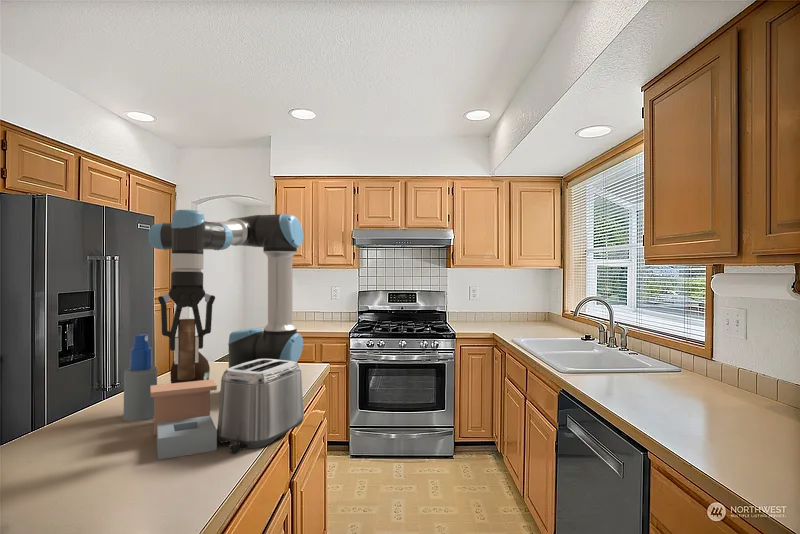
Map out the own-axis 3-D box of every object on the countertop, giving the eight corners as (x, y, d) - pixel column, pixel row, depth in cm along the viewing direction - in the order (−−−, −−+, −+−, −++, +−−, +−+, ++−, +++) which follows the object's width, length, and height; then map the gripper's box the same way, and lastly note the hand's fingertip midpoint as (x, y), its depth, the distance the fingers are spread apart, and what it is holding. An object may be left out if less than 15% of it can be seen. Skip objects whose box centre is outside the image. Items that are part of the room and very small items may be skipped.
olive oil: (167, 429, 132) (168, 340, 132) (172, 417, 142) (172, 335, 142) (208, 425, 135) (209, 338, 136) (209, 414, 145) (210, 333, 146)
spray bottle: (163, 412, 147) (164, 332, 147) (142, 421, 138) (143, 337, 138) (138, 410, 148) (139, 332, 149) (116, 419, 140) (117, 335, 140)
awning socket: (212, 424, 136) (212, 379, 136) (222, 449, 118) (223, 396, 118) (150, 433, 128) (150, 385, 128) (150, 461, 110) (151, 404, 110)
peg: (193, 375, 122) (194, 318, 122) (195, 379, 119) (196, 319, 119) (176, 377, 120) (177, 319, 120) (177, 380, 117) (178, 320, 117)
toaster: (314, 421, 140) (314, 357, 140) (251, 459, 112) (252, 379, 112) (266, 415, 145) (266, 353, 145) (195, 449, 117) (196, 373, 117)
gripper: (220, 270, 127) (219, 357, 127) (149, 270, 119) (148, 362, 119) (224, 271, 120) (223, 362, 120) (149, 270, 112) (148, 368, 112)
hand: (186, 362), depth 119 cm, fingers closed on peg, 4 cm apart
